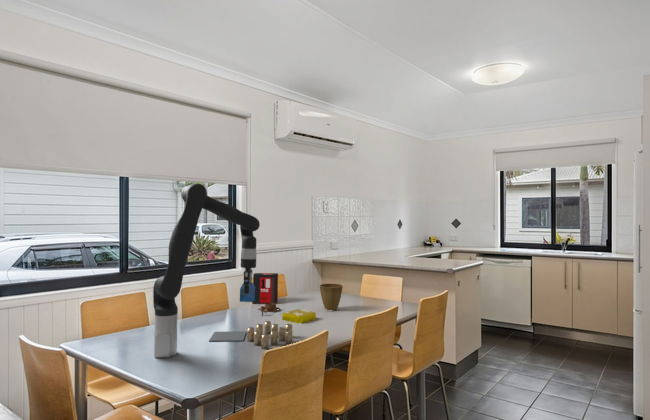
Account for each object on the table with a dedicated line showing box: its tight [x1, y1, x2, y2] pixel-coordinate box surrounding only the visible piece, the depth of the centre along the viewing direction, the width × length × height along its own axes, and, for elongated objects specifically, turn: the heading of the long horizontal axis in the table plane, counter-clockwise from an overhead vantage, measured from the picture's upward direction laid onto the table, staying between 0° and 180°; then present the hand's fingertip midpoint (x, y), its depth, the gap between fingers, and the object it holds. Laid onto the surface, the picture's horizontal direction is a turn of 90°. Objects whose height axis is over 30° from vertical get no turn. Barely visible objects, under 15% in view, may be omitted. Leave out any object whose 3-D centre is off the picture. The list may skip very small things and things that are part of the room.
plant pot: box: [319, 283, 343, 310], centre depth 278 cm, size 15×15×16 cm
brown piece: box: [258, 303, 281, 317], centre depth 270 cm, size 18×20×6 cm
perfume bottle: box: [239, 277, 255, 303], centre depth 209 cm, size 6×6×12 cm
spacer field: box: [246, 320, 293, 350], centre depth 207 cm, size 28×22×6 cm
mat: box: [208, 330, 247, 343], centre depth 212 cm, size 16×16×1 cm
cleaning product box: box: [252, 272, 279, 305], centre depth 298 cm, size 16×9×20 cm, turn 94°
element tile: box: [281, 308, 317, 324], centre depth 251 cm, size 15×15×5 cm
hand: (247, 292), depth 209 cm, fingers closed on perfume bottle, 6 cm apart
